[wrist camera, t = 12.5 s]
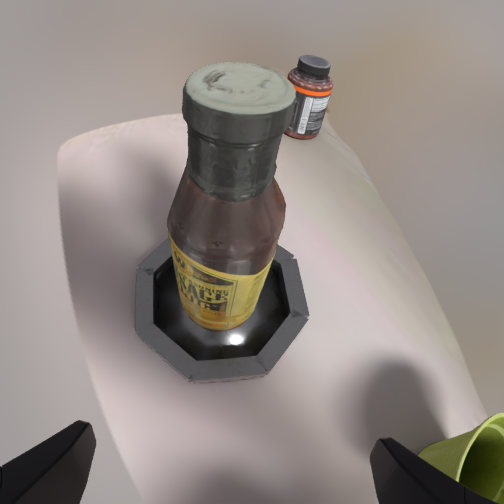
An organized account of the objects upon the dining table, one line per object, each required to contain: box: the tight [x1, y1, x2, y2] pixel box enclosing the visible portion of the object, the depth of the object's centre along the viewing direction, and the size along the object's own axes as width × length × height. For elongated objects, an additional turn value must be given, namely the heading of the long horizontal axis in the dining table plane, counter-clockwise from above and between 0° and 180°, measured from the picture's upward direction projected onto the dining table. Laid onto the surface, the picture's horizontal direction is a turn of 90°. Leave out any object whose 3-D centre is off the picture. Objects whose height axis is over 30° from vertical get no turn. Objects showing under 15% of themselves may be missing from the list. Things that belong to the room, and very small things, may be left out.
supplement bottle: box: [284, 55, 333, 139], centre depth 37 cm, size 6×6×11 cm
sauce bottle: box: [167, 62, 297, 332], centre depth 18 cm, size 7×6×20 cm
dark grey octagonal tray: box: [135, 238, 309, 384], centre depth 26 cm, size 14×14×2 cm
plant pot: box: [418, 412, 504, 504], centre depth 16 cm, size 9×9×9 cm
